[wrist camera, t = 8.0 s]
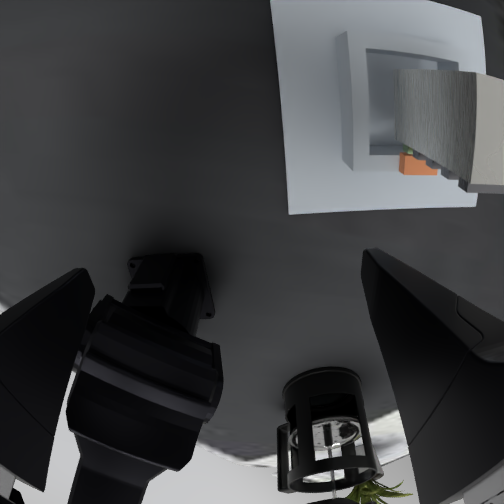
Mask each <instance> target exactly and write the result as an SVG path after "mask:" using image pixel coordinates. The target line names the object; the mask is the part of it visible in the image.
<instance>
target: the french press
mask: <svg viewBox="0 0 504 504" xmlns="http://www.w3.org/2000/svg"><path fill="white" fill-rule="evenodd" d="M333 393H342V394H348V395H347V396H346V397H344V398H343V399H342V400H340V401H338V402H336V403H333V404H330V405H327V406H321V407H311V406H310V398H311V397H315V396H319V395H324V394H333ZM283 400H284V402H285V418H286V421H287V422H288V423H286V424H283V425H281V426H278V428H277V469H278V470H277V473H278V491H280V492H284V493H294V492H302V493H322V492H331V491H332V495H333V499H327V500H322V501H317V502H312V503H308V504H359V503H357V502H356V501H353V500H351V499H348V498H336V491H337V490H342V489H346V488H350V487H353V486H356V485H359V484H362V483H364V482H366V481H368V480H370V479H372V478H373V477H375V476H376V474H377V472H378V471H377V465H376V460H375V458H374V453H373V448H372V443H371V437H370V432H369V428H368V423H367V418H366V413H365V409H364V401H363V397H362V392H361V380H360V378H359V376H358V375H357V374H356V373H355V372H353V371H351V370H349V369H346V368H340V367H324V368H318V369H313V370H310V371H306V372H304V373H302V374H299V375H297V376H296V377H294V378H293V379H291V380H290V381H289V382H288V383H287V384H286V386H285V387H284V389H283ZM357 416H358V417H357ZM289 431H290V437H289V443H290V444H291V468H292V470H291V471H289V458H288V432H289ZM360 437H362V440H363V446H364V451H365V456H363V455H356V450H355V444H354V441H356V440H358V439H359V438H360ZM339 447H341V451H342V456H340V457H333V458H332V451H331V449H335V448H339ZM323 450H328V455H329V458H327V459H322V460H317V461H316V460H315V451H323ZM358 468H369V469H367V470H365V471H364V472H362V473H359V469H358ZM341 469H344V474H345V479H341V480H336V481H335V478H334V470H341ZM328 471H330V474H331V481H330V482H320V483H307V482H303V477H306V476H310V475H314V474H318V473H323V472H328ZM365 504H377V503H376V502H375V501H370V502H367V503H365Z"/></svg>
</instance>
